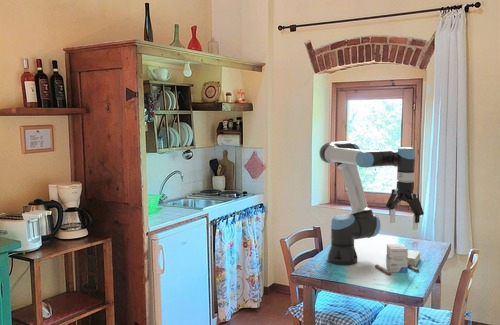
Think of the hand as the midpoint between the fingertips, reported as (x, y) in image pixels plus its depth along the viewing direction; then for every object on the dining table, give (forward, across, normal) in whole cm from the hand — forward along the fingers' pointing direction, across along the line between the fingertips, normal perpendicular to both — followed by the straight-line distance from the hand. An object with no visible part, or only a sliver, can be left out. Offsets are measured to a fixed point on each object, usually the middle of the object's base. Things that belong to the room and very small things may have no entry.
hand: (403, 226), depth 214 cm
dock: (+24, -14, +16) cm, 32 cm away
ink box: (+24, -6, +3) cm, 25 cm away
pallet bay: (+24, -6, +3) cm, 24 cm away
